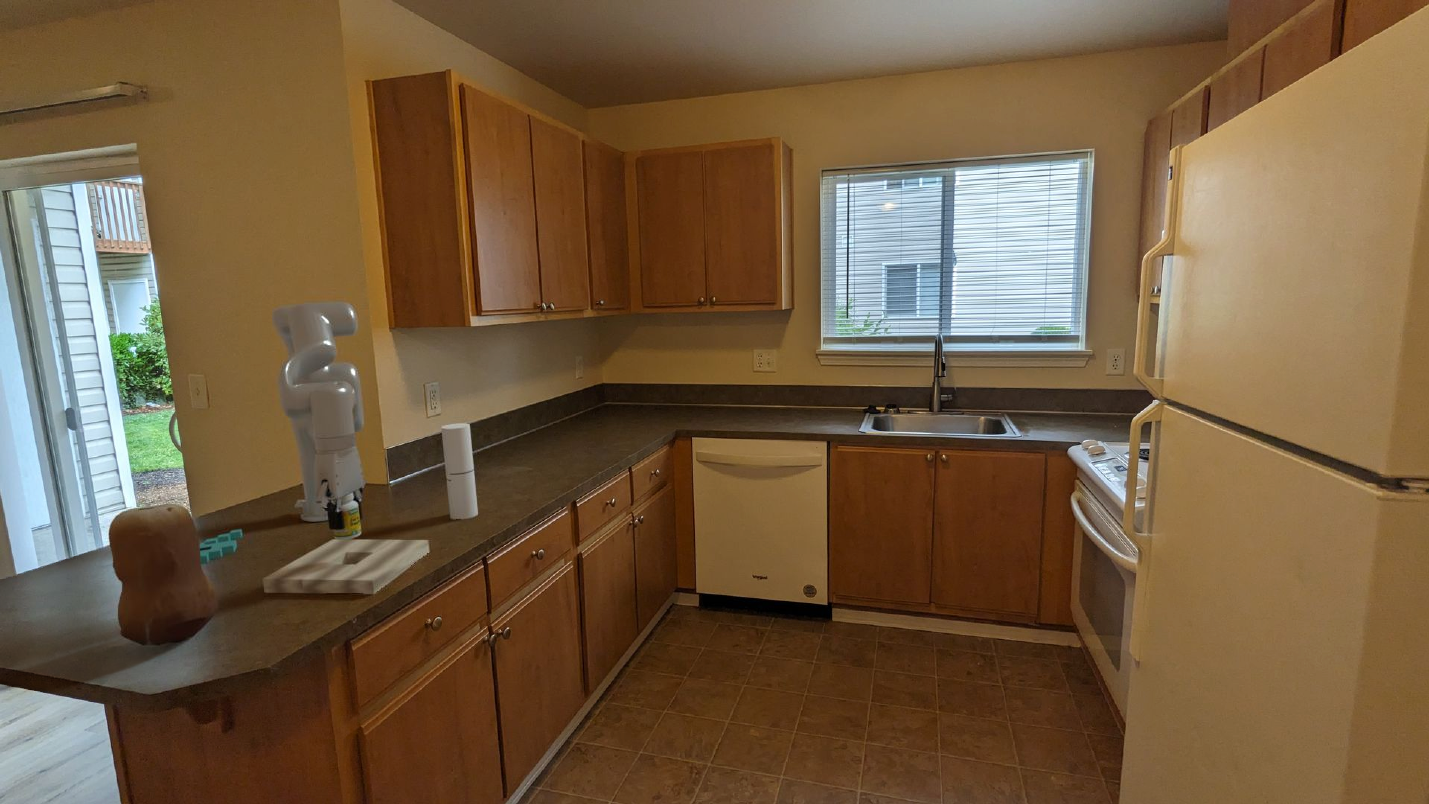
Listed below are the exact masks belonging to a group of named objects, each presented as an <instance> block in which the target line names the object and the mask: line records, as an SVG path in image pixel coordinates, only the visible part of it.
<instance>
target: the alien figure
mask: <svg viewBox="0 0 1429 804" xmlns="http://www.w3.org/2000/svg"><path fill="white" fill-rule="evenodd" d="M243 536H244V535H243V530H242V528H239V529H233V530H230V532H229V533H223V534H219V535H217V537H213V538H207V539H205V541H204V542H200V555H201V557H200V562H201V565H203V564H208V563H209V561H210V560H214V559H220V558H222V557H223V555H228V554H233V553H235V551H236V549H237V548H238V545H237V539H238V540H239V539H242V537H243Z"/></svg>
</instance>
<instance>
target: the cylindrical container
mask: <svg viewBox="0 0 1429 804" xmlns="http://www.w3.org/2000/svg"><path fill="white" fill-rule="evenodd" d="M440 428H441V429H440V430H441V437H442V438H441V439H442V446H443V447H442V448H443V457H444V466H445V467H444V468H445V476H446V488H447V498H448V507H449V517H450V519H451V520H456V519H461V520H467V519H471V518H474V517H477V516H478V514H479V512H478V511H479V509H478V499H477V489H476V488H477V487H476V478H475V465H474V456H473V448H472V447H473V446H472V433H471V425H470V424H469V423H464V422H463V423H461V422H459V423H452V424H451V423H450V424H446V425H442V426H441V427H440Z"/></svg>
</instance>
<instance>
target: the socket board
mask: <svg viewBox="0 0 1429 804" xmlns="http://www.w3.org/2000/svg"><path fill="white" fill-rule="evenodd" d="M427 553H428V554H429V553H430V543H429V540H428V539H348V540H337V539H335V538H334V539H330V540H329V541H327V542H325V543H323V544H322V545H320V546H318V547H316V548H314V549H313V550H311V551H309V552H308V553H306V554H304V555H302V556H300V557H299V558H297V559H295V560H293V561H292V562H290V563H288V564H286V565H285V566H283V567H280V568H279V569H277V570H276V571H273V572H272V573H271V574H269V575H267V576H265V577H264V578H262V584H263V590H264V593H267V594H269V593H270V594H273V593H275V594H283V593H284V594H326V593H363V594H362V595H375V594H377V593H378V592H380V590H382V589H383V588H384V587H386V586H387V585H388V584H390V583H391V582H392V581H393V580H395V579H396V578H398V577H399V576H400V575H402V574H403V573H404V572H406V570H408V569H409V568H410V567H412V566H413V565H415V564H416V563H418V562H419V561H420V560H421V559H422V558H424V557H425V556H427V555H428V554H427ZM423 556H424V557H423ZM419 559H420V560H419ZM418 560H419V561H418ZM415 562H416V563H415ZM414 563H415V564H414ZM411 565H412V566H411ZM385 585H386V586H385ZM381 588H382V589H381ZM377 591H378V592H377Z"/></svg>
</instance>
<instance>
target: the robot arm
mask: <svg viewBox="0 0 1429 804" xmlns="http://www.w3.org/2000/svg"><path fill="white" fill-rule="evenodd" d="M271 319H272V325H273V326H274V329H275V331H276V333H277V335H278V336H279V338H280V340H281V341H282V343H283V344H284V346H285V348H286V351H287V353H288V354H287V356H288V358H287V359H286V360H285V361H284V362H283V364H282V365H281V367H280V368H279V371H278V375H277V389H278V395H279V400H280V401H279V402H280V406H281V409H282V412H283V414H284V415H285V416H286V417H288V418H289V419H290V423H291V427H292V431H293V434H294V438H295V441H296V445H297V450H298V456H299V457H298V458H299V463H300V470H301V471H300V472H301V479H302V483H303V492H304V493H303V494H304V499H297V500H296V503H295V504H294V508H295V509H296V510H297V509H302V513H301V514H300V517H301V518H300V519H301V520H302V521H304V522H314V523H315V522H316V523H317V522H324V521H328V529H330V530H331V531H333V530H342V529H344V528H345V524H344V516H343V511H340V509H341V497H343V496H345V495H348V494H350V493H352V492H353V495H354V498H353V501H356V502H357V503H358V508H359V515H360V521H361V520H363V517H364V516H363V509H362V500H363V497H362V496H363V495H362V494H363V492H364V488H365V485H366V484H367V483H366V482H367V481H366V479H365V478H364V474H363V468H362V467H363V466H362V462H361V458H360V454H359V450H358V447H357V439H356V438H357V437H356V433H359V432H360V431H362V430H363V428H364V426H365V415H364V405H363V404H364V403H363V395H362V386H361V378H360V373H359V372H358V371H359V370H358V369H357V367H356V366H355V365H354V364H353V363H350V362H346V361H343V362H339V361H338V362H334V361H335V360H336V358H337V355H338V348H337V345H336V341H335V338H339V337H341V338H342V337H352V336H355V335H356V334H357V332H358V330H359V329H358V327H359V320H358V315H357V313H356V310H355V308H354V307H353V305H352V304H350V303H349V302H346V301H345V302H344V301H325V302H323V301H322V302H305V303H304V302H303V303H299V304H293V305H283V306H279V307H277V308H275V309H274V310H273V311H272V314H271ZM334 337H335V338H334ZM332 496H333V497H332ZM333 500H335V505H334V502H333Z"/></svg>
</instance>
